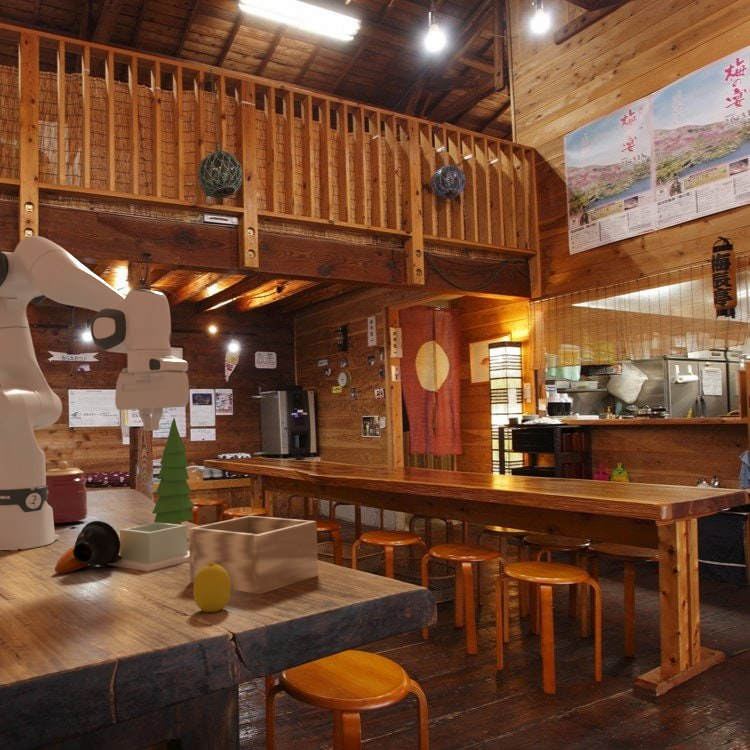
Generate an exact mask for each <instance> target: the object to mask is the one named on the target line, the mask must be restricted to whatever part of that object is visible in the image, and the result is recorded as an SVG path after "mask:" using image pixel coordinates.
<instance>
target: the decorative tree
mask: <svg viewBox="0 0 750 750" xmlns="http://www.w3.org/2000/svg"><path fill="white" fill-rule="evenodd" d="M186 451H187V448H186V446H185V445H184V442H183V440H182V439H181V436H180V433H179V430H178V426H177V421H176V419H175V417H173V419H172V422H171V425H170V428H169V433H168V437H167V441H166V444H165V446H164V449H163V453H162V454H163V455H162V457H161V460H160V462H159V464H160V465H161V467H160V470H159V473H158V476H157V478H156V480H160V481H159V484H158V485H157V488H156V491H155V493H154V495H157V496H158V498H157V501H156V504H155V505H154V508H153V510H152V512H151V514H152V515H153V514H156V515H155V518H154V520H153V521H154V522H153V523H157V522H159V523H169V524H179V525H183V524H182V523H185V522H187V521H192V520H194V517H193V514H192V512H191V509H190V508H194V507H195V506H194V504H193V502H192V500H191V499H190V497H189V495H190V494H192V493H193V491H191V488H190V485H189V484H188V481H187V480H190V476H189V473H188V470H187V468H189V467H190V465H189V462H188V458H187V455H186ZM188 494H189V495H188ZM187 542H189V537H187Z"/></svg>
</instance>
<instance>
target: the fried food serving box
mask: <svg viewBox="0 0 750 750" xmlns="http://www.w3.org/2000/svg"><path fill="white" fill-rule="evenodd" d="M317 526H318V524H317V521H316V520H308V519H307V520H306V519H305V520H304V519H296V518H295V519H293V518H282V517H270V516H259V515H246V516H241V517H236V518H232V519H227V520H223V521H218V522H213V523H208V524H204V525H198V526H195V527H194V526H193V527H189V528H188V533H189V534H188V535H189V537H188V540H189V541H188V542H189V551H190V561H189V577H190V579H189V581H190V583H191V584H194V581H195V577H196V575H197V573H198V572H199V571H200V570H201V569H202V568H203V567H204V566H206V565H208V564H209V563H210V562H214V563H215V564H217V565H220V566H222V567H223V568H224V569H225V570H226V571H227V572H228V575H229V577H230V581H231V591H239V592H246V593H252V594H256V595H262V594H265V593H268V592H271V591H274V590H278V589H281V588H284V587H287V586H289V585H292V584H296V583H299V582H302V581H305V580H309V579H311V578H314V577H317V576H319V562H318V560H319V557H318V556H319V555H318V529H317V528H318V527H317Z"/></svg>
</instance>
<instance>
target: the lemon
mask: <svg viewBox="0 0 750 750" xmlns="http://www.w3.org/2000/svg"><path fill="white" fill-rule="evenodd" d="M192 591H193V599H194V601H195V604H196V606H197V607H198V608H199V609H200V610H201V611H203V612H205V613H217V612H219V611H221V610H223V609H224V608H225V607H226V606H227V604H228V603H229V602H230V598H231V594H232V589H231V581H230V577H229V575H228V572H227V571H226V570H225V569H224V568H223V567H222V566H220V565H217V564H215V563H214V562H210V563H209V564H208V565H206V566H204V567H203V568H202V569H201V570H200V571H199V572H198V573H197V575H196V577H195V581H194V583H193V590H192Z"/></svg>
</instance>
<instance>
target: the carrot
mask: <svg viewBox="0 0 750 750" xmlns="http://www.w3.org/2000/svg"><path fill="white" fill-rule="evenodd" d="M74 548H75V545H73V546H72V547H70V548H68V550H66V551H65V553H64V554H62V556H60V558H59V559H58V561H57V563H56V565H55V567H54V571H55V572H56V573H57V574H58V573H59V574H66V572H67V573H70V572H73V571H77V570H79V569H82V568H85V567H87V566H88V565H89V564H86V563H80V562H78V561H77V560H76V559H75V556H74V555H73V550H74ZM84 549H85V552H86V553H87V554H88V555H89V556H91V557H92V555H90V554H89V552H88V551H87V550H86V548H85V547H84ZM82 552H83V554H84V551H82Z"/></svg>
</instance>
